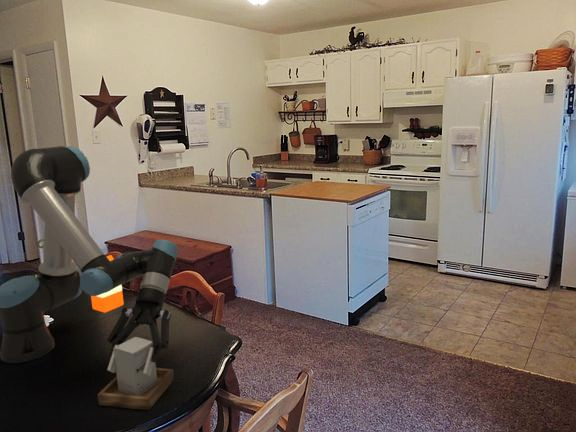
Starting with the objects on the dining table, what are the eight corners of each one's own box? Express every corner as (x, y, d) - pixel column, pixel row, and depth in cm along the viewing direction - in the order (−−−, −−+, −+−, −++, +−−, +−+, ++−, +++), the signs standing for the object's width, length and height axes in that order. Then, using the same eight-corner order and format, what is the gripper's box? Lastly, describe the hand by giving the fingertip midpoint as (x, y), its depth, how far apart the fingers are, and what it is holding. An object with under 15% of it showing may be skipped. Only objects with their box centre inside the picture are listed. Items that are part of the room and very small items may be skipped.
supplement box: (137, 399, 116) (131, 353, 114) (117, 391, 120) (112, 347, 118) (158, 384, 123) (154, 341, 120) (139, 377, 126) (134, 335, 124)
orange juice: (124, 304, 181) (118, 256, 176) (104, 312, 173) (98, 262, 169) (111, 301, 185) (105, 253, 181) (92, 308, 177) (85, 259, 173)
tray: (98, 405, 116) (97, 394, 116) (128, 375, 130) (127, 365, 129) (149, 410, 113) (147, 399, 113) (174, 379, 127) (173, 369, 126)
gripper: (193, 298, 130) (174, 380, 118) (123, 295, 134) (97, 373, 122) (184, 287, 123) (162, 372, 112) (111, 284, 128) (82, 365, 116)
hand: (128, 373), depth 117 cm, fingers open, 9 cm apart
